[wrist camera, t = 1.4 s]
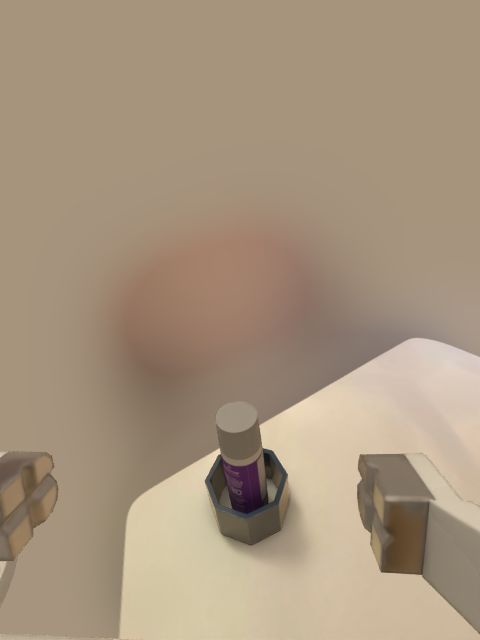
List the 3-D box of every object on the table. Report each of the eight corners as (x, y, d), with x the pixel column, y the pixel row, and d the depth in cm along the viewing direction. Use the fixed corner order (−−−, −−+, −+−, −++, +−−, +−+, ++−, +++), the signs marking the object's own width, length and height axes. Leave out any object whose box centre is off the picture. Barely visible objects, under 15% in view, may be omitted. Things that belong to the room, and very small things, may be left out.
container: (228, 519, 40) (209, 432, 32) (235, 484, 44) (219, 399, 36) (266, 523, 39) (255, 434, 32) (270, 487, 43) (261, 401, 36)
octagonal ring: (229, 557, 36) (223, 531, 34) (204, 488, 44) (198, 463, 41) (300, 519, 39) (300, 493, 36) (266, 460, 46) (263, 435, 44)
